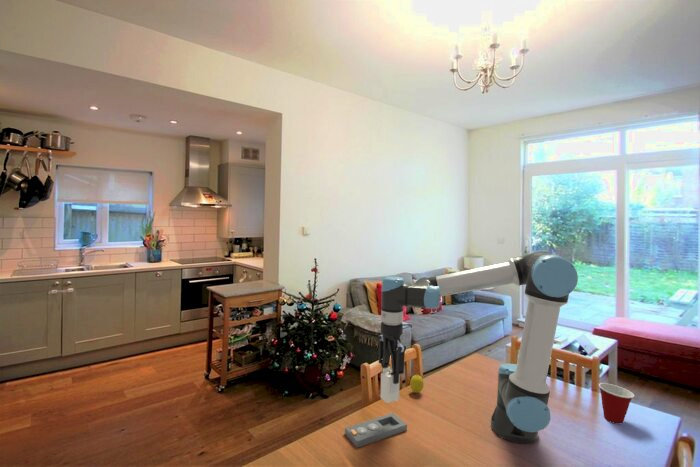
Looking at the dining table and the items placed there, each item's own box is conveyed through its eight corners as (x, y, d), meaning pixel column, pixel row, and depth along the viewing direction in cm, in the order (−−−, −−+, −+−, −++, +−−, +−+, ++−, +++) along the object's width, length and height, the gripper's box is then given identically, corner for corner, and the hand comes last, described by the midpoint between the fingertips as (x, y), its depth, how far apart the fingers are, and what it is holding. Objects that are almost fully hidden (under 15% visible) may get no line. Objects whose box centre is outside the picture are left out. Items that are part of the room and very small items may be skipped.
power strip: (406, 433, 121) (407, 422, 120) (356, 450, 111) (357, 439, 111) (393, 420, 128) (393, 411, 127) (344, 436, 118) (345, 425, 118)
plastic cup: (640, 428, 127) (642, 396, 127) (612, 428, 126) (614, 396, 126) (615, 411, 138) (617, 381, 137) (589, 411, 137) (591, 382, 137)
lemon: (413, 397, 145) (414, 378, 144) (407, 390, 150) (408, 372, 150) (425, 395, 146) (426, 377, 146) (419, 389, 152) (420, 371, 151)
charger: (399, 399, 120) (399, 371, 120) (387, 403, 118) (387, 374, 118) (392, 394, 124) (392, 367, 123) (380, 397, 122) (381, 369, 121)
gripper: (369, 317, 125) (367, 380, 126) (398, 331, 110) (396, 403, 112) (386, 314, 129) (384, 376, 130) (416, 327, 114) (414, 397, 115)
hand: (390, 388), depth 121 cm, fingers closed on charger, 4 cm apart
